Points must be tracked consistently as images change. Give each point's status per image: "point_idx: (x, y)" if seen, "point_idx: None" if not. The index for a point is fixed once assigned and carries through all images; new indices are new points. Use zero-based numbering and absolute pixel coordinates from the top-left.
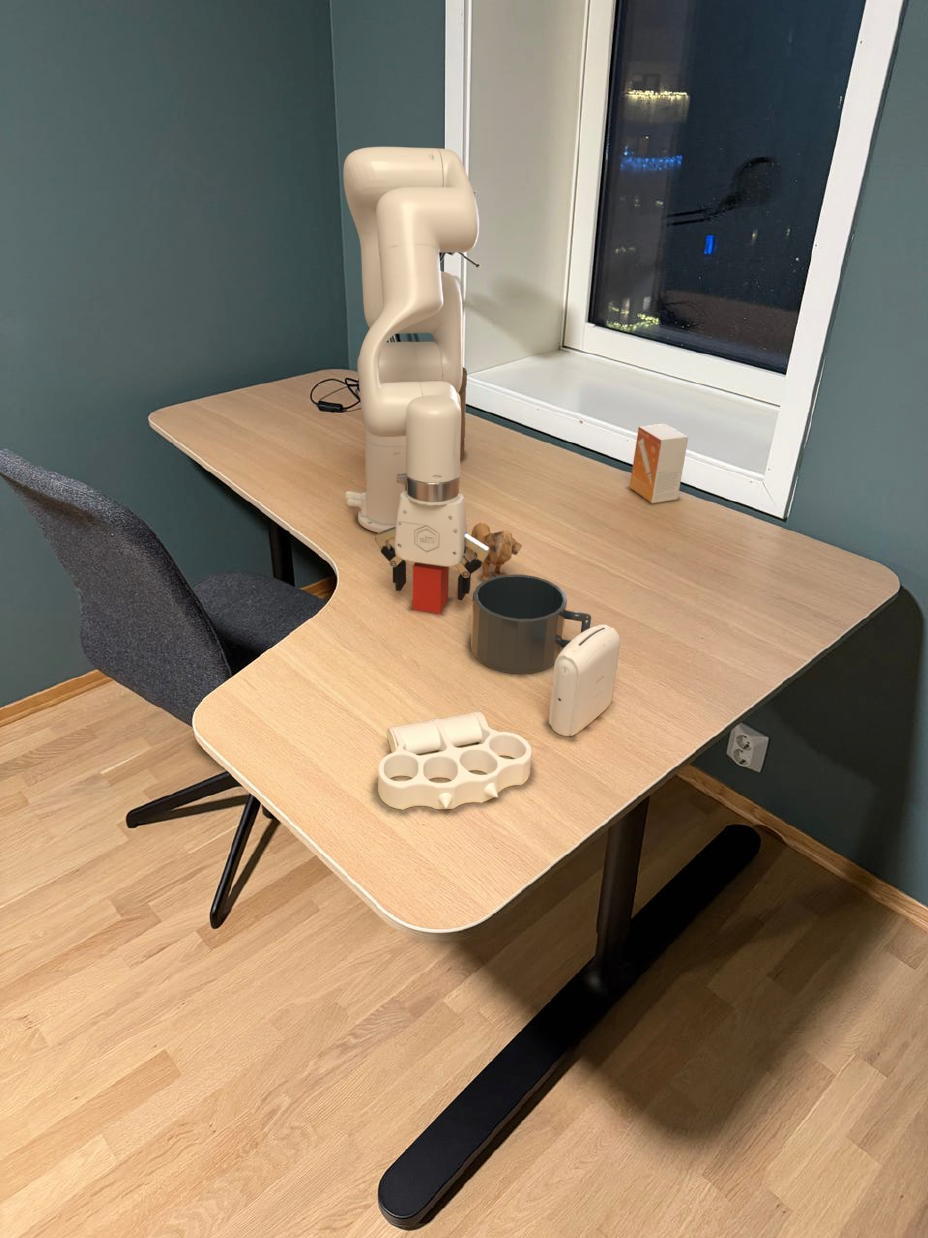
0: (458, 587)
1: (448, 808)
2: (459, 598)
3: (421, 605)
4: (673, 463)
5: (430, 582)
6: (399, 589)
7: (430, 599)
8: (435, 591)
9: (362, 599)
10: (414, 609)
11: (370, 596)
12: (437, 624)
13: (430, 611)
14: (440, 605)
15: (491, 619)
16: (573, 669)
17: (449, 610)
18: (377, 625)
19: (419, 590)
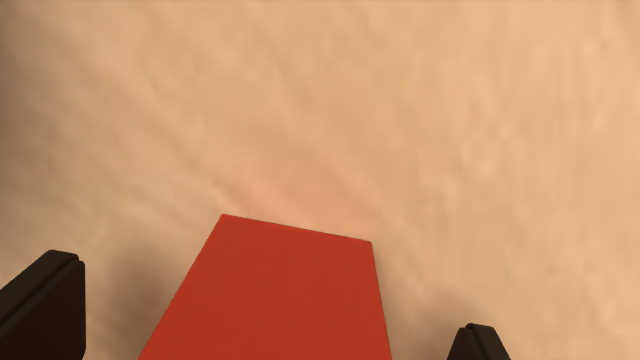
0: (11, 318)
1: None
2: (58, 259)
3: (323, 248)
4: None
5: (241, 354)
6: (470, 332)
7: (264, 264)
8: (216, 298)
9: (629, 306)
10: (360, 240)
11: (586, 334)
12: (220, 110)
13: (274, 225)
14: (208, 239)
15: None
16: None
17: (183, 251)
18: (566, 60)
19: (336, 310)
